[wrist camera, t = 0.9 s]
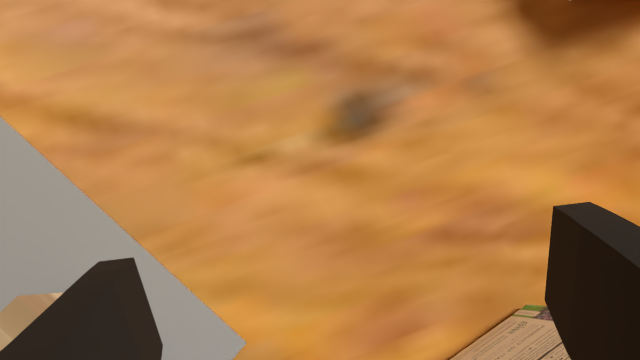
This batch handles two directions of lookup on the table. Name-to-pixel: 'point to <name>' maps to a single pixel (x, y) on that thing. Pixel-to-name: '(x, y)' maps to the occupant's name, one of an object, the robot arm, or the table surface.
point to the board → (88, 252)
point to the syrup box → (519, 339)
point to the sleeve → (22, 314)
